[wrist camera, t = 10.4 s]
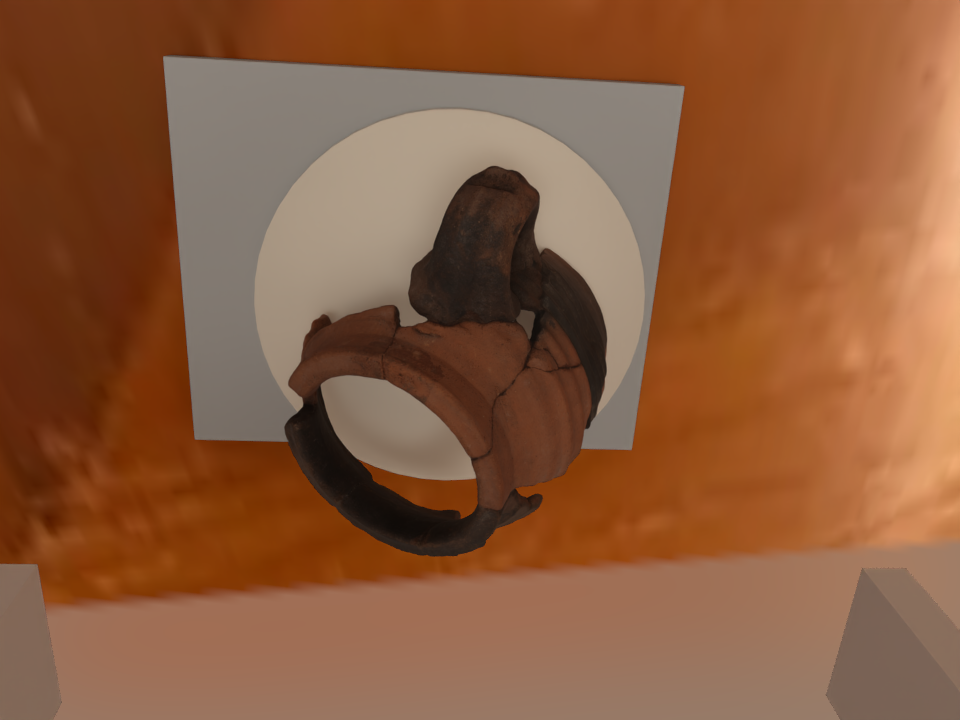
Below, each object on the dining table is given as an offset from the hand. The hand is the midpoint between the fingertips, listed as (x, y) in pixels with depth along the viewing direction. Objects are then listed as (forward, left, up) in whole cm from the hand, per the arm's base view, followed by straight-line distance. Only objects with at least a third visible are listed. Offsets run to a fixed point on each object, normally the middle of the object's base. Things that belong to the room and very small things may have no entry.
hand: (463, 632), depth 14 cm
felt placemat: (-1, +1, -17) cm, 17 cm away
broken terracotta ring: (+1, 0, -16) cm, 16 cm away
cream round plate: (0, 0, -16) cm, 16 cm away
